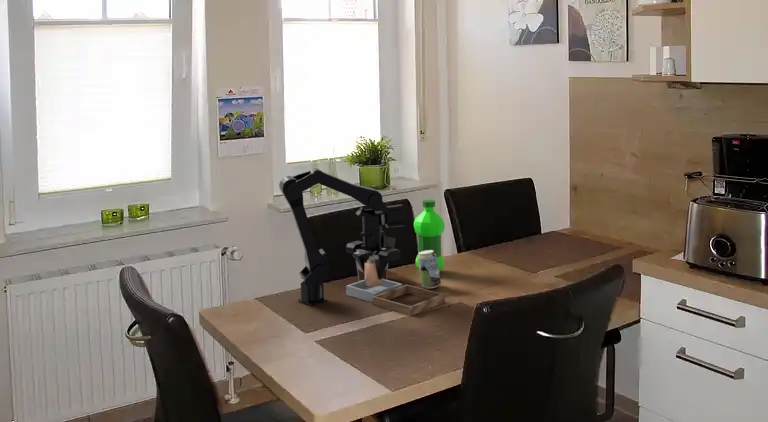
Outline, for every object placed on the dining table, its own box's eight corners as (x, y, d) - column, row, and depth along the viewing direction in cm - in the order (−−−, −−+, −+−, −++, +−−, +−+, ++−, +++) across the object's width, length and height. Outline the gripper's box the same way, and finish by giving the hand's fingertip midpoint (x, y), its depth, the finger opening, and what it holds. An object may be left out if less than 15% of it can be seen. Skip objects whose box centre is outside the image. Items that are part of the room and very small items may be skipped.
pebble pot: (374, 287, 246) (373, 261, 244) (361, 284, 250) (360, 258, 248) (386, 283, 250) (385, 258, 248) (373, 280, 254) (373, 255, 252)
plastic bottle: (428, 279, 264) (427, 205, 259) (408, 272, 272) (407, 200, 267) (451, 273, 270) (450, 201, 264) (431, 267, 278) (429, 196, 273)
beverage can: (439, 290, 252) (439, 253, 249) (416, 289, 253) (415, 253, 251) (442, 284, 258) (441, 248, 255) (419, 283, 259) (418, 248, 257)
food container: (392, 275, 269) (392, 246, 267) (391, 281, 263) (390, 251, 261) (356, 275, 271) (355, 246, 269) (354, 280, 265) (353, 251, 263)
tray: (374, 302, 242) (374, 293, 241) (346, 294, 250) (346, 285, 250) (402, 292, 251) (402, 283, 250) (374, 285, 259) (373, 276, 258)
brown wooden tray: (410, 315, 230) (410, 307, 229) (372, 304, 240) (372, 296, 240) (444, 302, 241) (444, 294, 240) (406, 292, 251) (406, 284, 251)
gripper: (412, 228, 245) (413, 277, 249) (369, 220, 258) (370, 266, 261) (387, 235, 238) (388, 285, 241) (344, 226, 250) (345, 274, 253)
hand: (373, 277), depth 249 cm, fingers closed on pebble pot, 6 cm apart
